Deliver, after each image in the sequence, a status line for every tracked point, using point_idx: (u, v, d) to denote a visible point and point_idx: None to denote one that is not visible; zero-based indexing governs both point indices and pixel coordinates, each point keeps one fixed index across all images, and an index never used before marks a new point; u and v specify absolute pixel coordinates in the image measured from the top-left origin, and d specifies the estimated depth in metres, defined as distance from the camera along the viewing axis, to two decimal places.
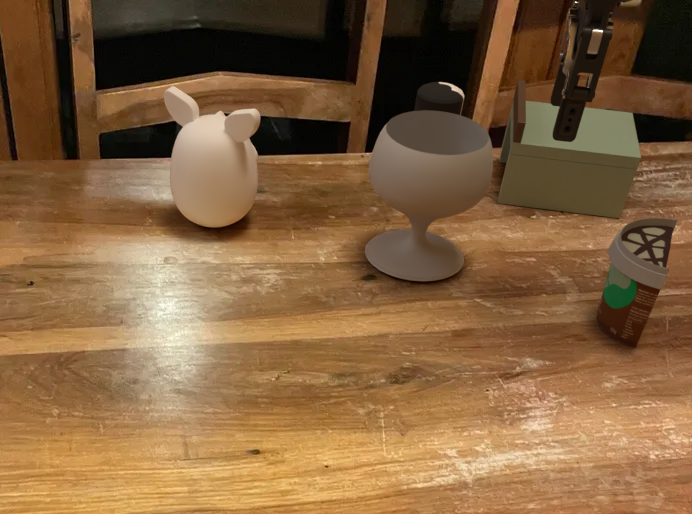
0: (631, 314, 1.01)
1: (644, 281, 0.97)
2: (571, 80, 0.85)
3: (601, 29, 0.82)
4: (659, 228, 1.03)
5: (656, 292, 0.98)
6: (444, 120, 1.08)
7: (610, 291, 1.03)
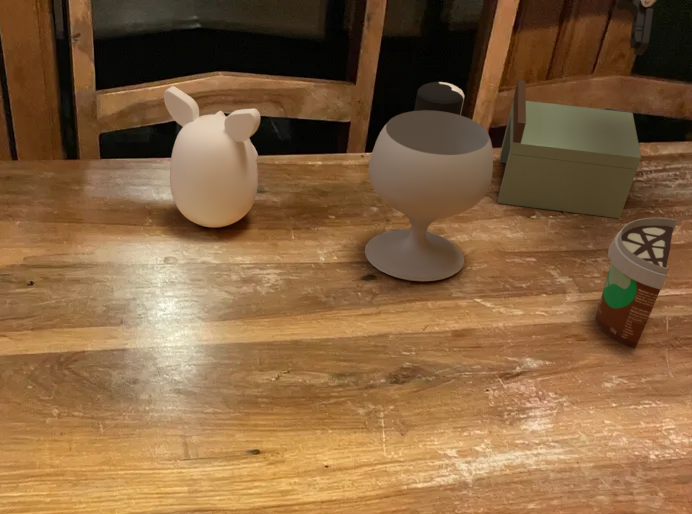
0: (631, 314, 1.01)
1: (644, 281, 0.97)
2: None
3: None
4: (659, 228, 1.03)
5: (656, 292, 0.98)
6: (444, 120, 1.08)
7: (610, 291, 1.03)
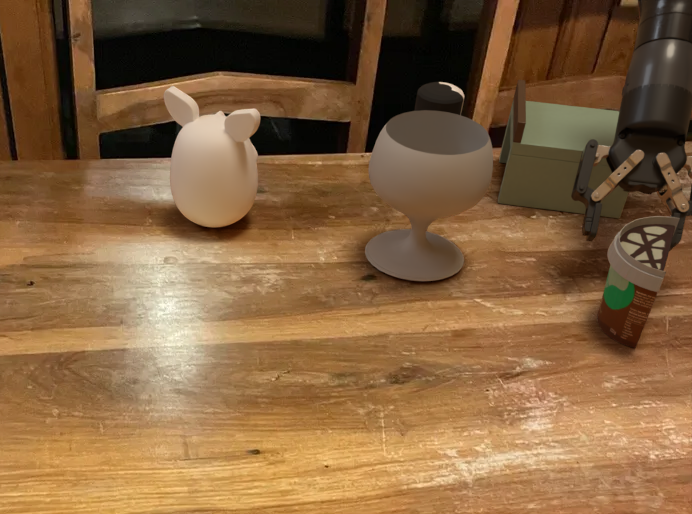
0: (630, 315, 1.01)
1: (641, 284, 0.97)
2: (574, 184, 1.07)
3: None
4: (661, 227, 1.02)
5: (654, 294, 0.98)
6: (444, 120, 1.08)
7: (609, 292, 1.03)
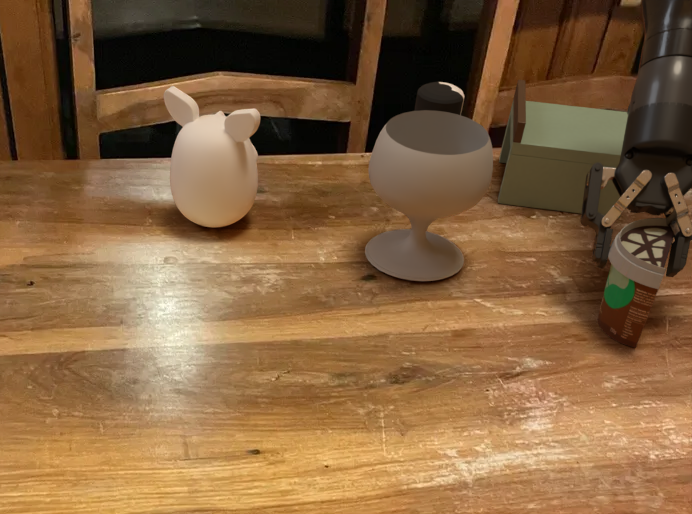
0: (630, 314, 1.01)
1: (641, 281, 0.97)
2: (582, 209, 1.03)
3: None
4: (661, 228, 1.03)
5: (654, 292, 0.98)
6: (444, 120, 1.08)
7: (609, 291, 1.03)
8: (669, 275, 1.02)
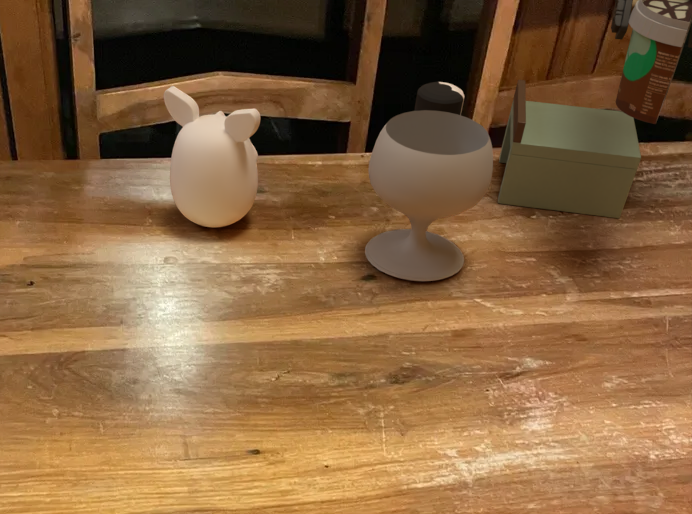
0: (651, 83, 0.97)
1: (664, 39, 0.93)
2: None
3: None
4: None
5: (676, 53, 0.94)
6: (444, 120, 1.08)
7: (629, 63, 0.99)
8: (691, 44, 0.98)
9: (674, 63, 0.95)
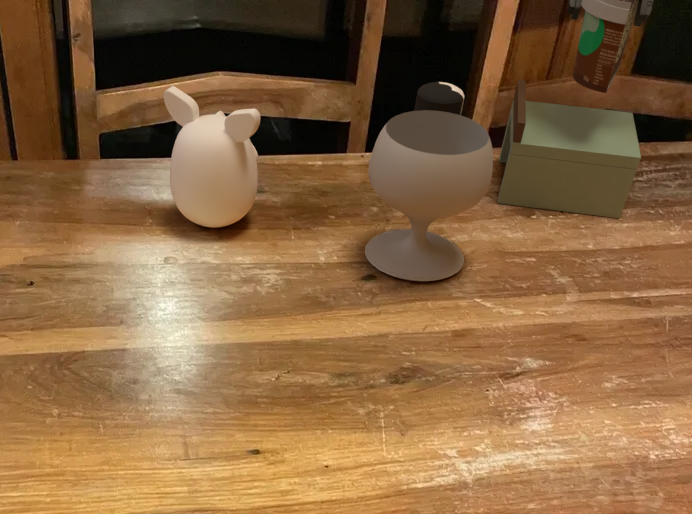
0: (600, 57, 1.12)
1: (610, 18, 1.08)
2: None
3: None
4: None
5: (621, 29, 1.08)
6: (444, 120, 1.08)
7: (583, 40, 1.13)
8: (636, 23, 1.12)
9: (619, 39, 1.09)
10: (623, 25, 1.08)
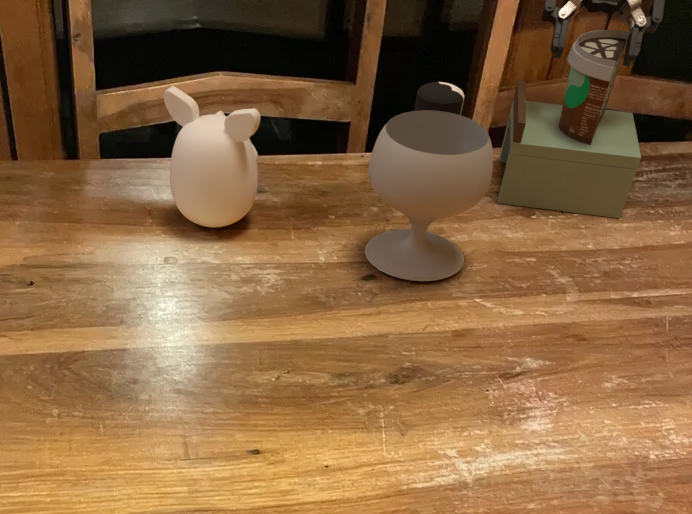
0: (586, 111, 1.16)
1: (595, 75, 1.12)
2: (543, 6, 1.18)
3: None
4: (613, 39, 1.18)
5: (606, 86, 1.13)
6: (444, 120, 1.08)
7: (568, 93, 1.18)
8: (625, 63, 1.17)
9: (604, 94, 1.14)
10: (607, 82, 1.13)
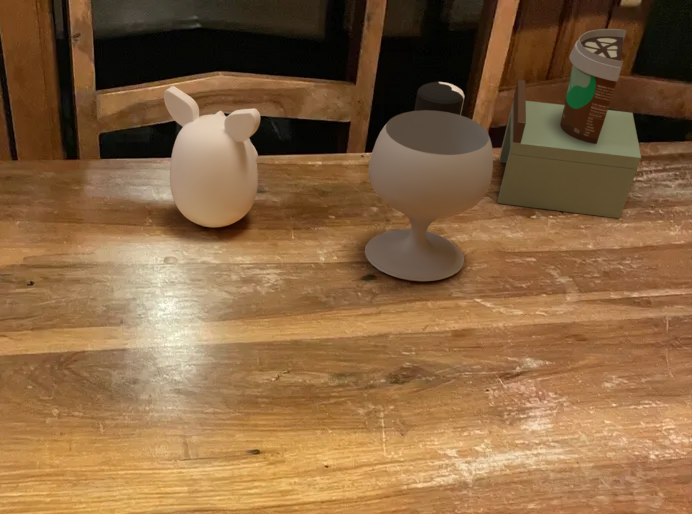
0: (592, 111, 1.17)
1: (602, 75, 1.12)
2: None
3: None
4: (611, 38, 1.18)
5: (613, 86, 1.13)
6: (444, 120, 1.08)
7: (572, 94, 1.18)
8: None
9: (611, 94, 1.14)
10: (615, 82, 1.13)
